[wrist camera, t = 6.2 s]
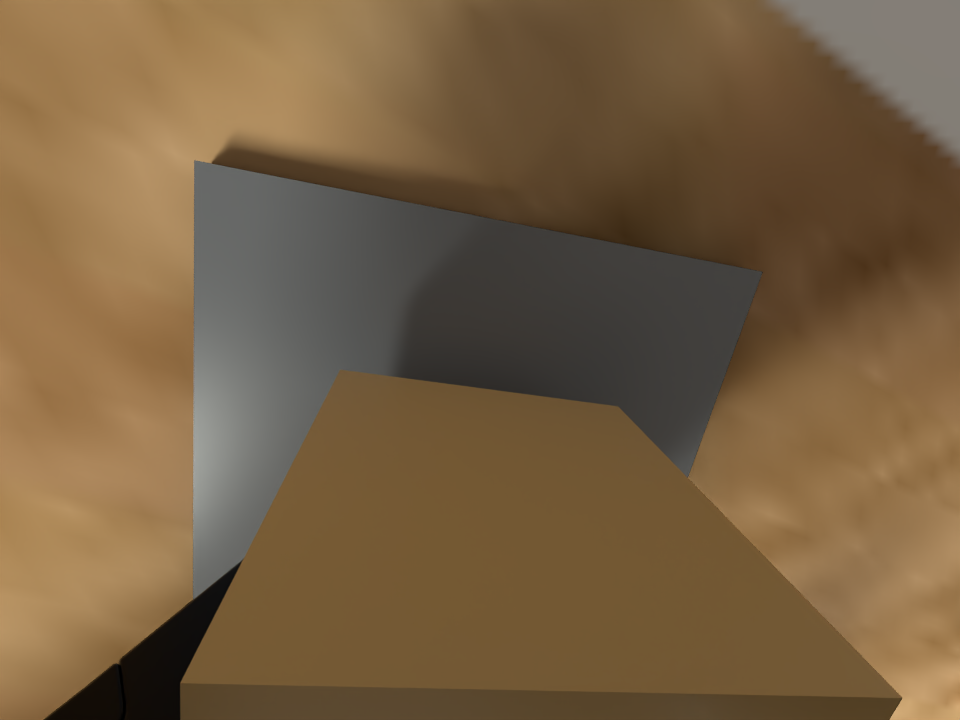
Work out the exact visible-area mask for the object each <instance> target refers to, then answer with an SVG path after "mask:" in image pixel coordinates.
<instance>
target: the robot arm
mask: <svg viewBox="0 0 960 720" xmlns="http://www.w3.org/2000/svg"><path fill="white" fill-rule="evenodd" d="M242 561H243V559H242V560H241V561H240V562H239V563H238V564H236V565H235V566H234V567H233V568H231V569H230V570H229V571H228V572H227V573H225V574H224V575H223V576H222V577H220V578H219V579H218V580H217V581H215V582H214V583H213V584H212V585H211V586H209V587H208V588H207V589H206V590H204V591H203V592H202V593H201V594H199V595H198V596H197V597H196V598H195V599H193V600H192V601H191V602H190V603H188V604H187V605H186V606H185V607H183V608H182V609H181V610H180V611H179V612H177V613H176V614H175V615H174V616H172V617H171V618H170V619H169V620H167V621H166V622H165V623H164V624H163V625H161V626H160V627H159V628H158V629H156V630H155V631H154V632H153V633H151V634H150V635H149V636H148V637H147V638H145V639H144V640H143V641H142V642H140V643H139V644H138V645H137V646H135V647H134V648H133V649H132V650H131V651H129V652H128V653H127V654H126V655H124V656H123V657H122V658H121V659H120V660H119V664H117V663H116V664H113V665H112V666H111V667H109V668H108V669H107V670H106V671H104V672H103V673H102V674H101V675H99V676H98V677H97V678H96V679H95V680H93V681H92V682H91V683H90V684H88V685H87V686H86V687H85V688H83V689H82V690H81V691H79V692H78V693H77V694H76V695H74V696H73V697H72V698H70V699H69V700H68V701H67V702H65V703H64V704H63V705H62V706H60V707H59V708H58V709H56V710H55V711H54V712H53V713H51V714H50V715H49V716H47V717H46V718H45V719H44V720H180V683H181V681H182V679H183V677H184V675H185V673H186V671H187V669H188V667H189V665H190V663H191V661H192V659H193V657H194V655H195V653H196V651H197V649H198V647H199V645H200V643H201V641H202V639H203V637H204V636H205V634H206V632H207V630H208V628H209V626H210V624H211V622H212V620H213V618H214V616H215V614H216V612H217V610H218V608H219V606H220V604H221V602H222V600H223V598H224V596H225V594H226V592H227V590H228V588H229V586H230V585H231V583H232V581H233V579H234V577H235V575H236V573H237V571H238V569H239V567H240V565H241V563H242Z"/></svg>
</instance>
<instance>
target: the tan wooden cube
mask: <svg viewBox="0 0 960 720" xmlns="http://www.w3.org/2000/svg"><path fill="white" fill-rule="evenodd" d="M901 700H902V697H901V696H900V695H899V694H898V693H897V692H896V691H895V690H894V689H893V688H892V687H891V686H890V685H889V684H888V683H887V682H886V681H885V679H884V678H883V677H882V676H881V675H880V674H879V673H878V672H877V671H876V670H875V669H874V668H873V667H872V666H871V665H870V664H869V663H868V662H867V661H866V660H865V659H864V658H863V657H862V656H861V655H860V654H859V653H858V652H857V651H856V650H855V649H854V648H853V647H852V646H851V645H850V644H849V643H848V642H847V641H846V640H845V638H844V637H843V636H842V635H841V634H840V633H839V632H838V631H837V630H836V629H835V628H834V627H833V626H832V625H831V624H830V623H829V622H828V621H827V620H826V619H825V618H824V617H823V616H822V615H821V614H820V613H819V612H818V611H817V610H816V609H815V608H814V607H813V606H812V605H811V604H810V603H809V602H808V601H807V600H806V599H805V597H804V596H803V595H802V594H801V593H800V592H799V591H798V590H797V589H796V588H795V587H794V586H793V585H792V584H791V583H790V582H789V581H788V580H787V579H786V578H785V577H784V576H783V575H782V574H781V573H780V572H779V571H778V570H777V569H776V568H775V567H774V566H773V565H772V564H771V563H770V562H769V561H768V560H767V559H766V558H765V556H764V555H763V554H762V553H761V552H760V551H759V550H758V549H757V548H756V547H755V546H754V545H753V544H752V543H751V542H750V541H749V540H748V539H747V538H746V537H745V536H744V535H743V534H742V533H741V532H740V531H739V530H738V529H737V528H736V527H735V526H734V525H733V524H732V523H731V522H730V521H729V520H728V519H727V518H726V517H725V516H724V514H723V513H722V512H721V511H720V510H719V509H718V508H717V507H716V506H715V505H714V504H713V503H712V502H711V501H710V500H709V499H708V498H707V497H706V496H705V495H704V494H703V493H702V492H701V491H700V490H699V489H698V488H697V487H696V486H695V485H694V484H693V483H692V482H691V481H690V480H689V479H688V478H687V477H686V476H685V475H684V473H683V472H682V471H681V470H680V469H679V468H678V467H677V466H676V465H675V464H674V463H673V462H672V461H671V460H670V459H669V458H668V457H667V456H666V455H665V454H664V453H663V452H662V451H661V450H660V449H659V448H658V447H657V446H656V445H655V444H654V443H653V442H652V441H651V440H650V439H649V438H648V437H647V436H646V435H645V434H644V432H643V431H642V430H641V429H640V428H639V427H638V426H637V425H636V424H635V423H634V422H633V421H632V420H631V419H630V418H629V417H628V416H627V415H626V414H625V413H624V412H623V411H622V410H621V409H620V408H619V407H618V406H611V405H604V404H596V403H589V402H581V401H574V400H566V399H559V398H551V397H543V396H536V395H528V394H521V393H513V392H506V391H498V390H491V389H483V388H475V387H468V386H460V385H453V384H445V383H438V382H430V381H423V380H415V379H407V378H400V377H392V376H385V375H377V374H370V373H362V372H355V371H347V370H340V371H339V373H338V375H337V377H336V379H335V381H334V383H333V385H332V386H331V388H330V390H329V392H328V394H327V396H326V398H325V400H324V402H323V404H322V406H321V408H320V410H319V412H318V414H317V416H316V418H315V420H314V422H313V424H312V426H311V428H310V430H309V432H308V434H307V436H306V437H305V439H304V441H303V443H302V445H301V447H300V449H299V451H298V453H297V455H296V457H295V459H294V461H293V463H292V465H291V467H290V469H289V471H288V473H287V475H286V477H285V479H284V481H283V483H282V485H281V486H280V488H279V490H278V492H277V494H276V496H275V498H274V500H273V502H272V504H271V506H270V508H269V510H268V512H267V514H266V516H265V518H264V520H263V522H262V524H261V526H260V528H259V530H258V532H257V534H256V536H255V537H254V539H253V541H252V543H251V545H250V547H249V549H248V551H247V553H246V555H245V557H244V559H243V561H242V563H241V565H240V567H239V569H238V571H237V573H236V575H235V577H234V579H233V581H232V583H231V585H230V586H229V588H228V590H227V592H226V594H225V596H224V598H223V600H222V602H221V604H220V606H219V608H218V610H217V612H216V614H215V616H214V618H213V620H212V622H211V624H210V626H209V628H208V630H207V632H206V634H205V636H204V637H203V639H202V641H201V643H200V645H199V647H198V649H197V651H196V653H195V655H194V657H193V659H192V661H191V663H190V665H189V667H188V669H187V671H186V673H185V675H184V677H183V679H182V681H181V683H180V720H889V719H890V718H891V716H892V714H893V713H894V711H895V709H896V708H897V706H898V705H899V703H900V701H901Z"/></svg>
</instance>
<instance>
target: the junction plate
mask: <svg viewBox="0 0 960 720" xmlns="http://www.w3.org/2000/svg"><path fill="white" fill-rule="evenodd" d="M762 273H763V272H761V271H756V270H751V269H746V268H740V267H735V266H730V265H725V264H720V263H715V262H710V261H705V260H700V259H695V258H689V257H684V256H679V255H674V254H669V253H664V252H659V251H654V250H649V249H644V248H639V247H633V246H628V245H623V244H618V243H613V242H608V241H603V240H598V239H593V238H588V237H582V236H577V235H572V234H567V233H562V232H557V231H552V230H547V229H542V228H537V227H531V226H526V225H521V224H516V223H511V222H506V221H501V220H496V219H491V218H486V217H481V216H475V215H470V214H465V213H460V212H455V211H450V210H445V209H440V208H435V207H430V206H424V205H419V204H414V203H409V202H404V201H399V200H394V199H389V198H384V197H379V196H373V195H368V194H363V193H358V192H353V191H348V190H343V189H338V188H333V187H328V186H323V185H317V184H312V183H307V182H302V181H297V180H292V179H287V178H282V177H277V176H272V175H266V174H261V173H256V172H251V171H246V170H241V169H236V168H231V167H226V166H221V165H215V164H210V163H205V162H200V161H195V160H194V460H193V599H195V598H196V597H197V596H198V595H199V594H201V593H202V592H203V591H204V590H206V589H207V588H208V587H209V586H211V585H212V584H213V583H214V582H215V581H217V580H218V579H219V578H220V577H222V576H223V575H224V574H225V573H227V572H228V571H229V570H230V569H231V568H233V567H234V566H235V565H236V564H238V563H239V562H240V561H241V560H242V559H244V557H245V555H246V553H247V551H248V549H249V547H250V545H251V543H252V541H253V539H254V537H255V536H256V534H257V532H258V530H259V528H260V526H261V524H262V522H263V520H264V518H265V516H266V514H267V512H268V510H269V508H270V506H271V504H272V502H273V500H274V498H275V496H276V494H277V492H278V490H279V488H280V486H281V485H282V483H283V481H284V479H285V477H286V475H287V473H288V471H289V469H290V467H291V465H292V463H293V461H294V459H295V457H296V455H297V453H298V451H299V449H300V447H301V445H302V443H303V441H304V439H305V437H306V436H307V434H308V432H309V430H310V428H311V426H312V424H313V422H314V420H315V418H316V416H317V414H318V412H319V410H320V408H321V406H322V404H323V402H324V400H325V398H326V396H327V394H328V392H329V390H330V388H331V386H332V385H333V383H334V381H335V379H336V377H337V375H338V373H339V371H340V370H347V371H355V372H362V373H370V374H377V375H385V376H392V377H400V378H407V379H415V380H423V381H430V382H438V383H445V384H453V385H460V386H468V387H475V388H483V389H491V390H498V391H506V392H513V393H521V394H528V395H536V396H543V397H551V398H559V399H566V400H574V401H581V402H589V403H596V404H604V405H611V406H618V407H619V408H620V409H621V410H622V411H623V412H624V413H625V414H626V415H627V416H628V417H629V418H630V419H631V420H632V421H633V422H634V423H635V424H636V425H637V426H638V427H639V428H640V429H641V430H642V431H643V432H644V434H645V435H646V436H647V437H648V438H649V439H650V440H651V441H652V442H653V443H654V444H655V445H656V446H657V447H658V448H659V449H660V450H661V451H662V452H663V453H664V454H665V455H666V456H667V457H668V458H669V459H670V460H671V461H672V462H673V463H674V464H675V465H676V466H677V467H678V468H679V469H680V470H681V471H682V472H683V473H684V475H685V476H686V477H687V478H688V476H689V473H690V470H691V467H692V465H693V462H694V459H695V456H696V454H697V451H698V448H699V445H700V443H701V440H702V437H703V434H704V432H705V429H706V426H707V423H708V421H709V418H710V415H711V412H712V410H713V407H714V404H715V401H716V399H717V396H718V393H719V391H720V388H721V385H722V382H723V380H724V377H725V374H726V371H727V369H728V366H729V363H730V360H731V358H732V355H733V352H734V349H735V347H736V344H737V341H738V338H739V336H740V333H741V330H742V327H743V325H744V322H745V319H746V316H747V314H748V311H749V308H750V305H751V303H752V300H753V297H754V295H755V292H756V289H757V286H758V284H759V281H760V278H761V275H762Z"/></svg>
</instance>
